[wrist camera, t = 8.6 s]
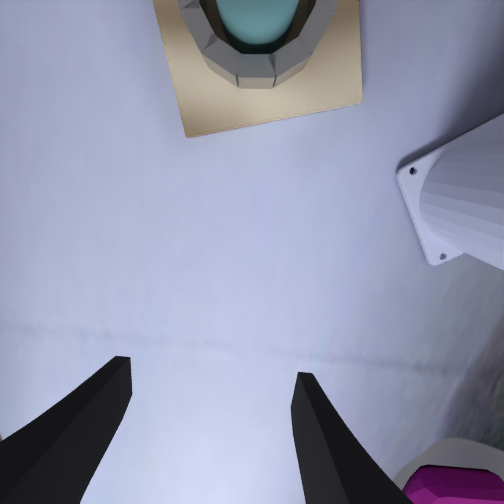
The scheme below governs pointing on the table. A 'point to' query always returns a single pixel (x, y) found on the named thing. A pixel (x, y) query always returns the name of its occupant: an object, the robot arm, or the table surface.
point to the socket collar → (257, 65)
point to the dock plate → (261, 100)
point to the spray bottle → (454, 486)
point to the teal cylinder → (257, 23)
